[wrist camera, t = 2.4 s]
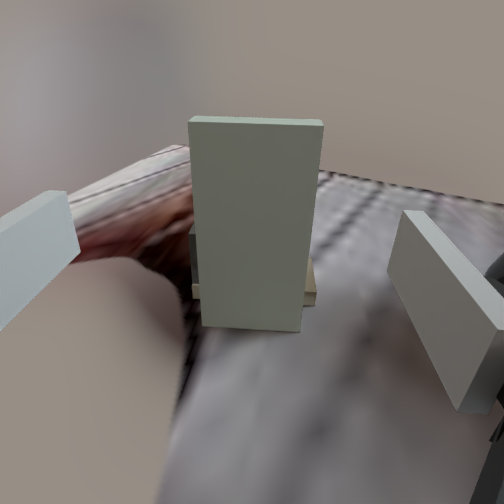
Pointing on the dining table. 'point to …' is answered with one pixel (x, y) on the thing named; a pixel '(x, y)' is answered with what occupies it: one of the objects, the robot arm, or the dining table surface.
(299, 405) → the dining table surface
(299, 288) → the flat rectangular panel
